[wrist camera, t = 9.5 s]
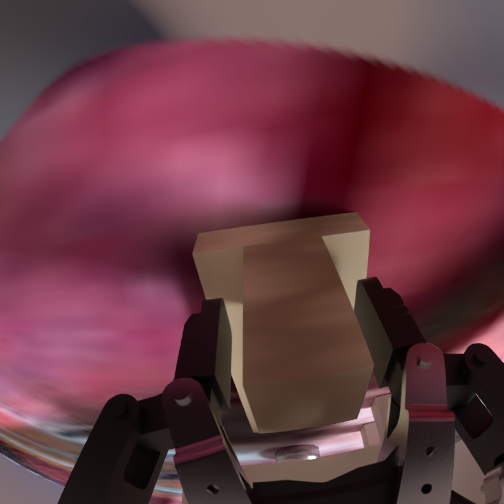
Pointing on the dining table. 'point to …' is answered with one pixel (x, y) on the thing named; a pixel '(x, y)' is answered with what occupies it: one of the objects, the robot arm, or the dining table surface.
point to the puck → (297, 453)
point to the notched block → (327, 465)
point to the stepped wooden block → (292, 317)
